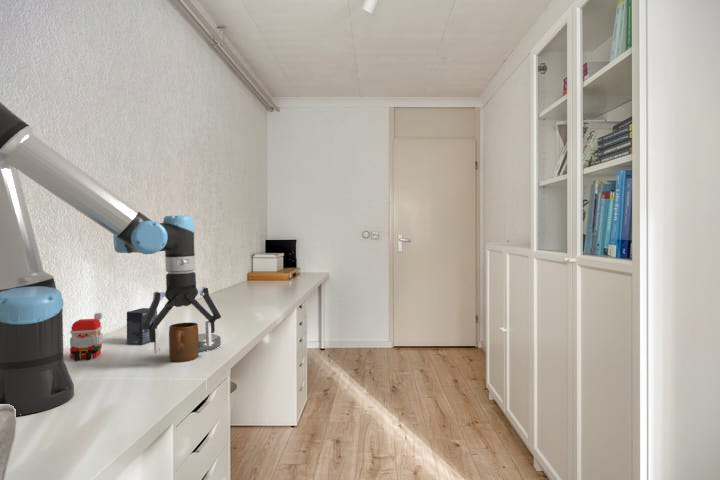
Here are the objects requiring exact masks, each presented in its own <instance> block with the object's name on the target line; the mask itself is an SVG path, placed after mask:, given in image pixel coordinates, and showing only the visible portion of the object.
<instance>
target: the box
mask: <svg viewBox="0 0 720 480" xmlns="http://www.w3.org/2000/svg"><path fill="white" fill-rule="evenodd" d="M149 308H150V307H141V308H137V309H134V310H130V311H129V310H128V311H126V345H132V346H143V345H145V344H147V343H151V342H150V337H149V330H148V329H143V328H142V327H141V325H142V322H143V320H144V318H145V316H146V314H147V312H148V310H149ZM157 315H158V308H157V309H156V311H155V313H154V315H153V317H152V319H151V322H150V324H151V323H152V322H153V320H154V319H155V318H156V316H157ZM156 328H157V329H158V326H157V327H156Z"/></svg>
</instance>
